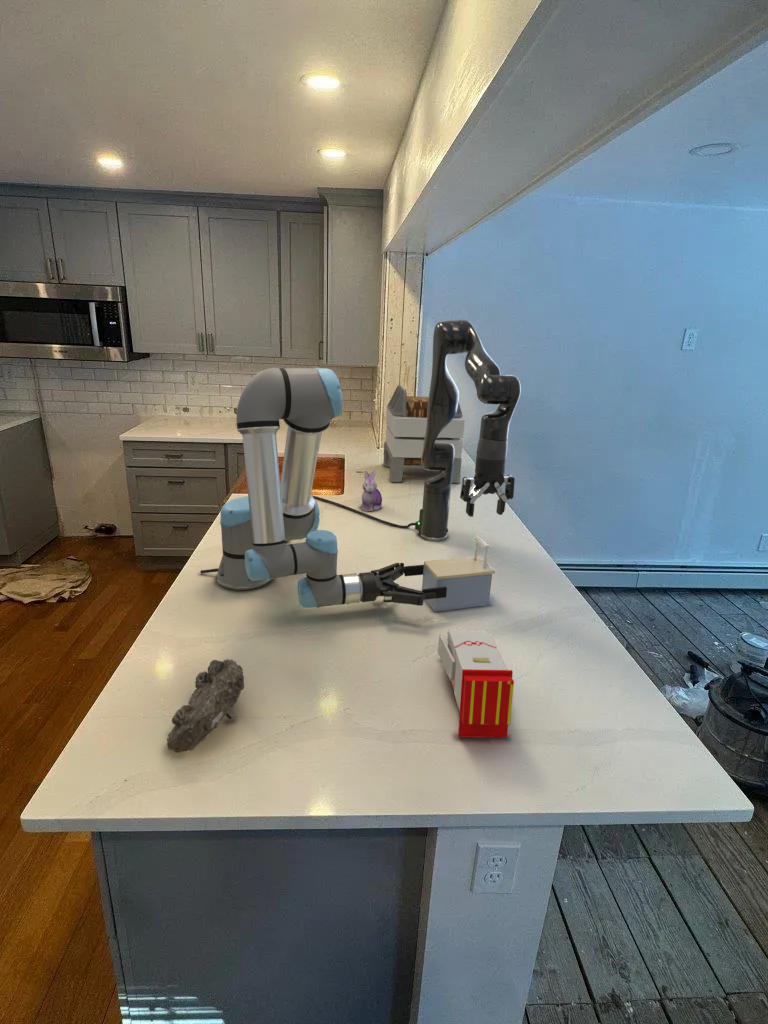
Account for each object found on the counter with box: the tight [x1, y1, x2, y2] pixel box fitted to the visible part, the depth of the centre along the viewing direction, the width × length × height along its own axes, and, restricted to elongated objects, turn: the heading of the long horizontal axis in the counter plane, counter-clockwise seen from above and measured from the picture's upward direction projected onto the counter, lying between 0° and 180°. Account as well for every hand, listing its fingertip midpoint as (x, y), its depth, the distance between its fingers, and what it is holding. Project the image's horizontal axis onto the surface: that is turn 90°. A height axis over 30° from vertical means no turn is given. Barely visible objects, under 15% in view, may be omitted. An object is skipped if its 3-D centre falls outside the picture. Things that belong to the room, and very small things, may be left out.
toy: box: [437, 628, 515, 738], centre depth 117 cm, size 12×13×30 cm
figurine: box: [360, 469, 383, 512], centre depth 222 cm, size 9×10×15 cm
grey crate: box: [383, 384, 465, 484], centre depth 268 cm, size 34×33×41 cm
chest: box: [421, 564, 493, 613], centre depth 155 cm, size 16×10×9 cm, turn 107°
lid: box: [423, 535, 496, 580], centre depth 152 cm, size 16×10×8 cm, turn 107°
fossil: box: [166, 658, 245, 754], centre depth 106 cm, size 22×10×15 cm
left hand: (436, 580), depth 151 cm, fingers open, 13 cm apart
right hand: (484, 514), depth 150 cm, fingers open, 8 cm apart
